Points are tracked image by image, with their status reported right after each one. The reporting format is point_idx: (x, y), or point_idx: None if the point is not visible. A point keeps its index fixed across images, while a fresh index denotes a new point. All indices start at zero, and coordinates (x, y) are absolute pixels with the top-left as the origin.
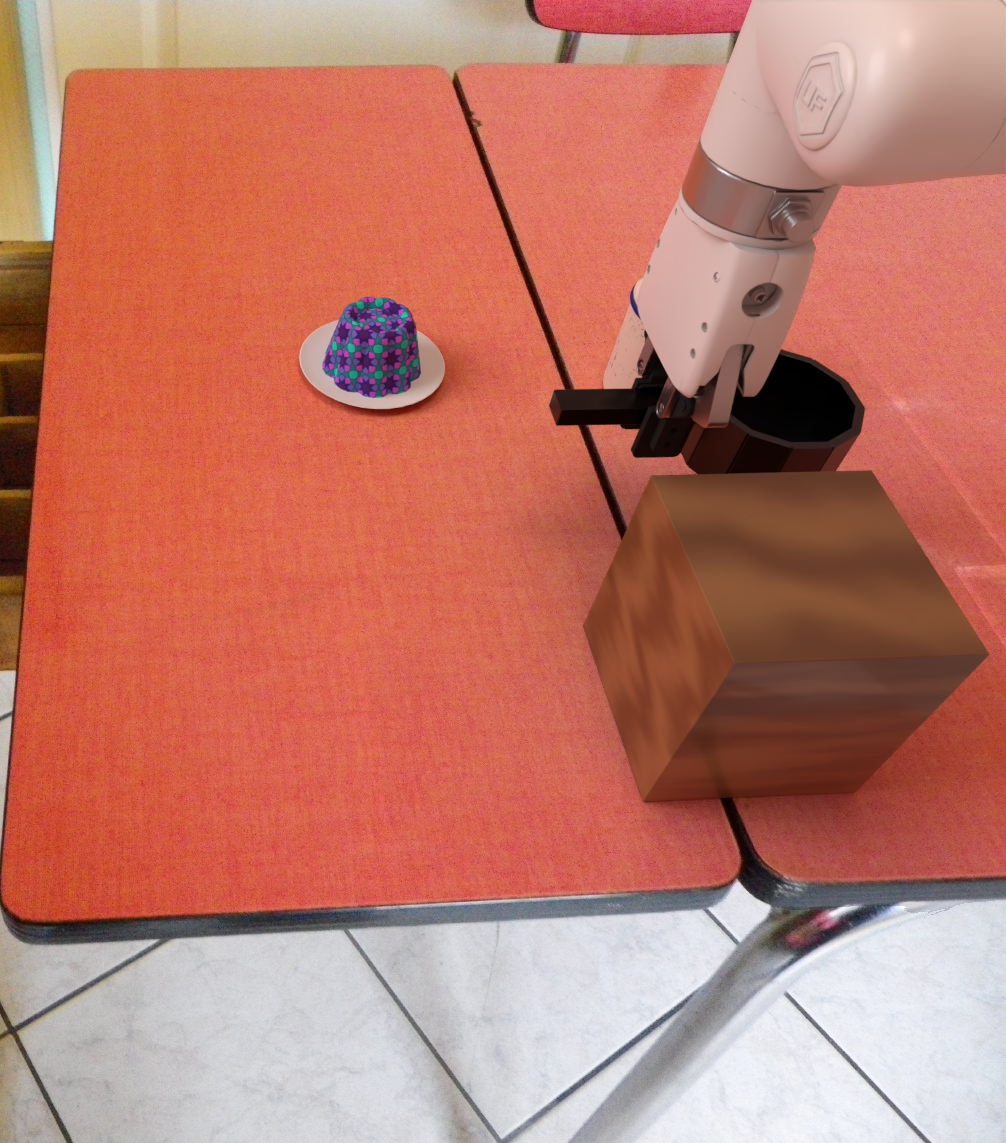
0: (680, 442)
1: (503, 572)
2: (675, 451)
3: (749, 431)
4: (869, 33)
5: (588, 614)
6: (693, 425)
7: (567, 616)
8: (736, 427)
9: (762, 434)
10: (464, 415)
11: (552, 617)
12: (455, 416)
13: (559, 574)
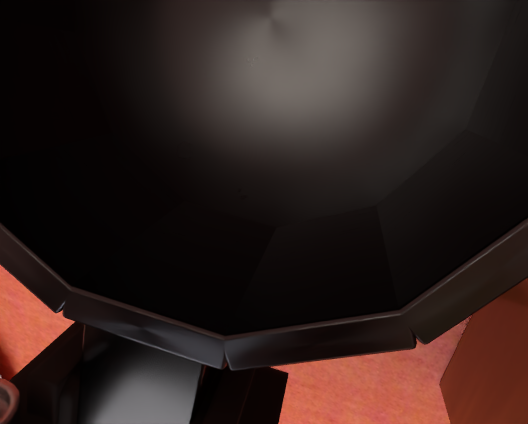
0: (282, 400)
1: (310, 417)
2: (287, 375)
3: (407, 333)
4: None
5: (446, 406)
6: (247, 386)
7: (413, 390)
8: (352, 351)
9: (451, 286)
10: (22, 312)
11: (407, 407)
12: (23, 323)
13: (338, 358)
